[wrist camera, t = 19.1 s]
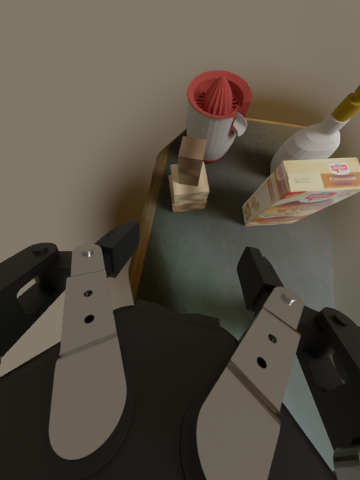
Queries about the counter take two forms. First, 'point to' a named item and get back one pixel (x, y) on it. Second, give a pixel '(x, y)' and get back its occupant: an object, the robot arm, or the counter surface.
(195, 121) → the citrus juicer
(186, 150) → the walnut post
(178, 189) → the block top
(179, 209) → the block bottom
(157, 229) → the counter surface
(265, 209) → the coffeecake box
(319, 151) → the soap bottle
